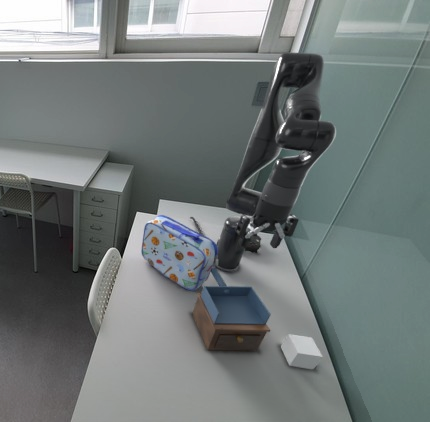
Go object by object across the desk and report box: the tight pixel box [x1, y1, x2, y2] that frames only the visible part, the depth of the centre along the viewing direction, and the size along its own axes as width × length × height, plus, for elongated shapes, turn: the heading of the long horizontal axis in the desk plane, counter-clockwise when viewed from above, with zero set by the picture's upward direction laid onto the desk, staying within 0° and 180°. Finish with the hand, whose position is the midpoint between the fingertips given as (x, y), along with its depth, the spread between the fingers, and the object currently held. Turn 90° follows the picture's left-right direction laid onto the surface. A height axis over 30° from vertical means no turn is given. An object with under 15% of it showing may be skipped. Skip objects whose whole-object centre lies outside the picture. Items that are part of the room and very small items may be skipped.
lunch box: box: [141, 214, 218, 291], centre depth 112 cm, size 28×10×22 cm, turn 37°
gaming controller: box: [244, 233, 262, 254], centre depth 130 cm, size 14×6×10 cm
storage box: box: [191, 292, 271, 352], centre depth 92 cm, size 15×15×10 cm
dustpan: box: [200, 266, 272, 325], centre depth 93 cm, size 20×14×4 cm
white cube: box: [280, 333, 324, 370], centre depth 86 cm, size 6×6×6 cm
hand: (257, 246), depth 87 cm, fingers open, 8 cm apart
